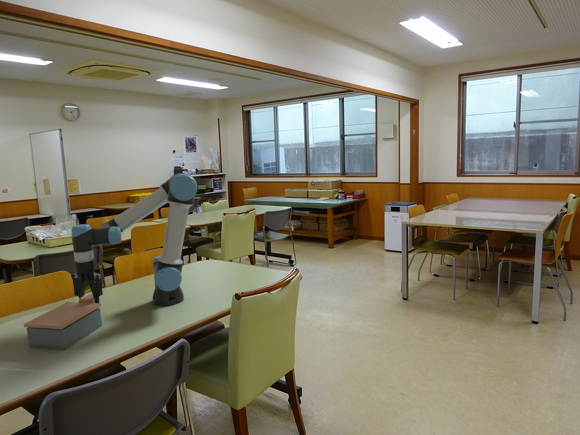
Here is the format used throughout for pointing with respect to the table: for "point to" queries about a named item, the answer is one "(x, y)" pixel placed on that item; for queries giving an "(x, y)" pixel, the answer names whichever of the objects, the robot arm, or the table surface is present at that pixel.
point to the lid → (64, 314)
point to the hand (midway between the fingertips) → (90, 311)
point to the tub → (64, 333)
